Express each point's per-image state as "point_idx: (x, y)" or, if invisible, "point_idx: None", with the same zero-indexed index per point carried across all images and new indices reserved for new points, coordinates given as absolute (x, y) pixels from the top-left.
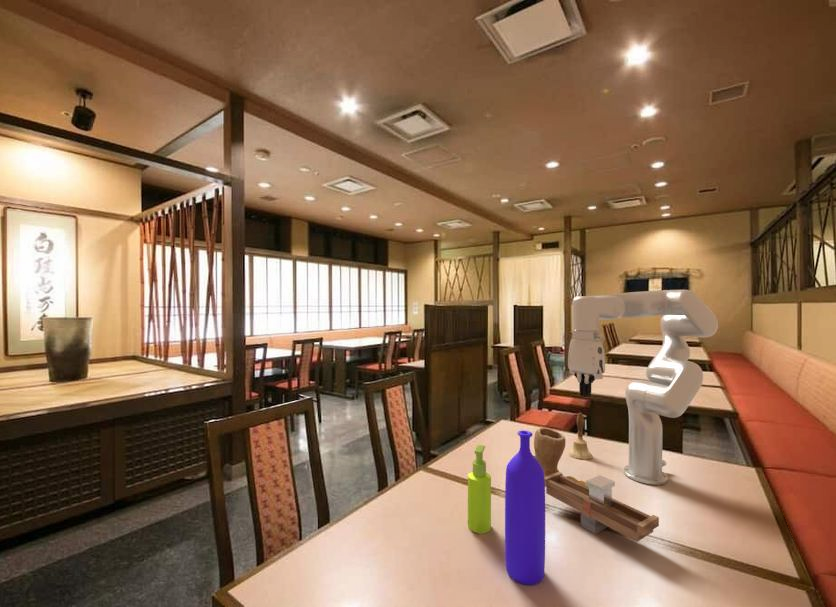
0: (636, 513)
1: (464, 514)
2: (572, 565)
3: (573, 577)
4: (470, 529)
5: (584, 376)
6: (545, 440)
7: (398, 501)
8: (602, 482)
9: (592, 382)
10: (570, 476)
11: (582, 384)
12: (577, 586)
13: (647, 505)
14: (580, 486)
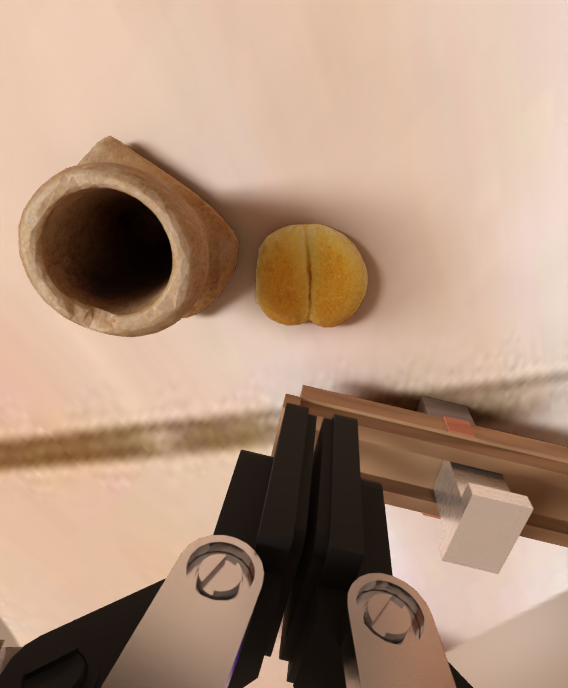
0: None
1: (169, 567)
2: (435, 578)
3: (448, 603)
4: None
5: (218, 680)
6: (135, 336)
7: (39, 607)
8: (495, 540)
9: (415, 608)
10: (277, 260)
11: (272, 643)
12: (461, 616)
13: (557, 182)
14: (385, 444)
